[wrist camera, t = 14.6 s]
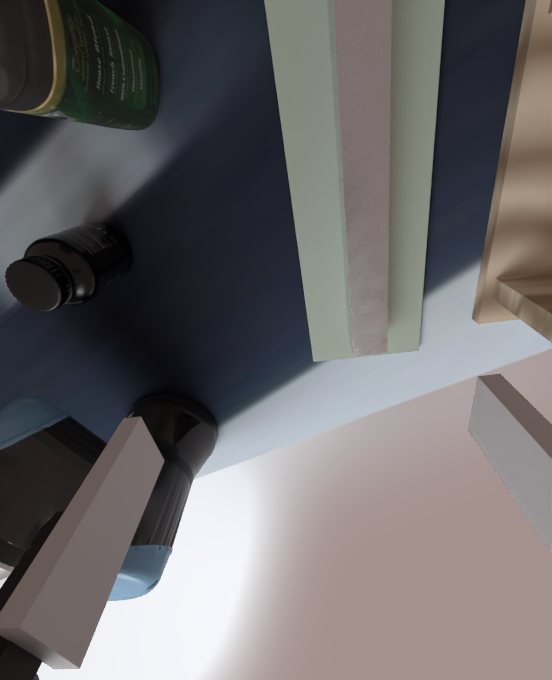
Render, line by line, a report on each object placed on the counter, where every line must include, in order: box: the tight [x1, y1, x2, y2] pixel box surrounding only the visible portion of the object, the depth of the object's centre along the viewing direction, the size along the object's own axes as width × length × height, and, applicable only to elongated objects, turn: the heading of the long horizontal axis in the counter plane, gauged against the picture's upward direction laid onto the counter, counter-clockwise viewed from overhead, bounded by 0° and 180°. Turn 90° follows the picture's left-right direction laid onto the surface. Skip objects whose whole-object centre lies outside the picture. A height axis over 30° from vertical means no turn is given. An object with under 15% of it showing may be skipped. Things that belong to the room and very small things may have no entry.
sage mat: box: [264, 0, 445, 362], centre depth 32 cm, size 40×14×1 cm, turn 10°
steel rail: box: [327, 0, 392, 356], centre depth 30 cm, size 34×4×4 cm, turn 10°
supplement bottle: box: [5, 222, 132, 312], centre depth 32 cm, size 7×7×12 cm
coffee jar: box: [0, 0, 159, 130], centre depth 21 cm, size 10×8×19 cm
